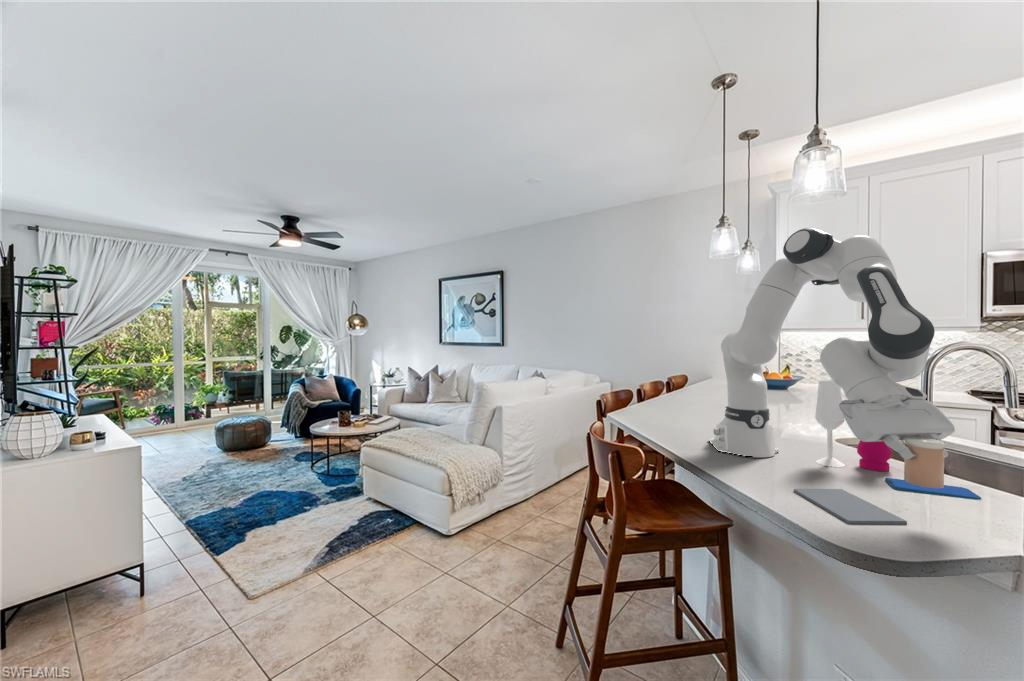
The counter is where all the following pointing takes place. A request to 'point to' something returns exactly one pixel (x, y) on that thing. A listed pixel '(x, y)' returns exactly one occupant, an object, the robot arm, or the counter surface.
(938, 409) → the robot arm
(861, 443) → the pepper mill
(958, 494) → the smartphone
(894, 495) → the counter surface
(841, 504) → the slate mat
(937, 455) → the terracotta jar
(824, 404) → the champagne flute
